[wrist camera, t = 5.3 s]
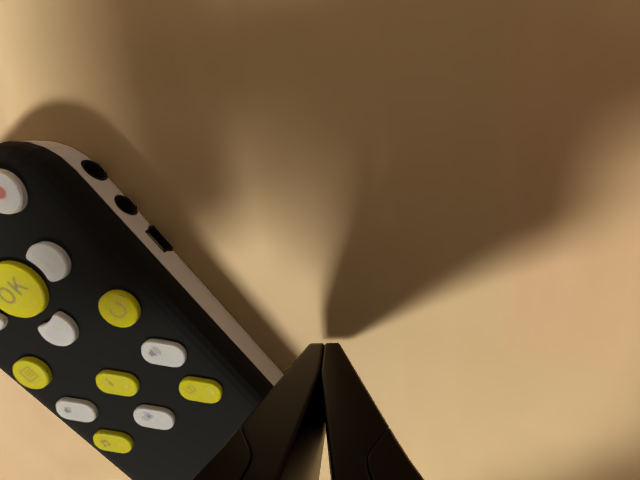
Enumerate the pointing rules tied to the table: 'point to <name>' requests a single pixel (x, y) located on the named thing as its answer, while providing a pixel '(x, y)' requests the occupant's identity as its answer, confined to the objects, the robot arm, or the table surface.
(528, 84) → the table surface
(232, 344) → the remote control
